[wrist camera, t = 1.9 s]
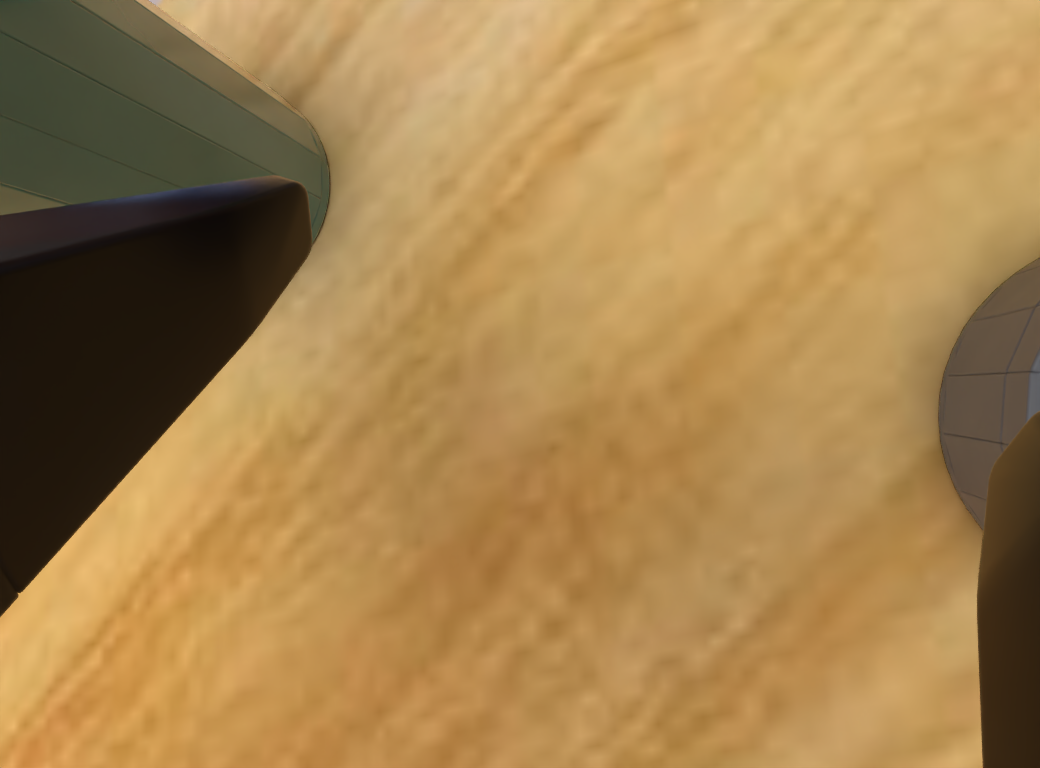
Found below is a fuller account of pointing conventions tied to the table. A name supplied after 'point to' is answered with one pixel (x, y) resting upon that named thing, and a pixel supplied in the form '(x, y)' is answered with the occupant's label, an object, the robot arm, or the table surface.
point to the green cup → (135, 110)
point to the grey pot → (991, 385)
